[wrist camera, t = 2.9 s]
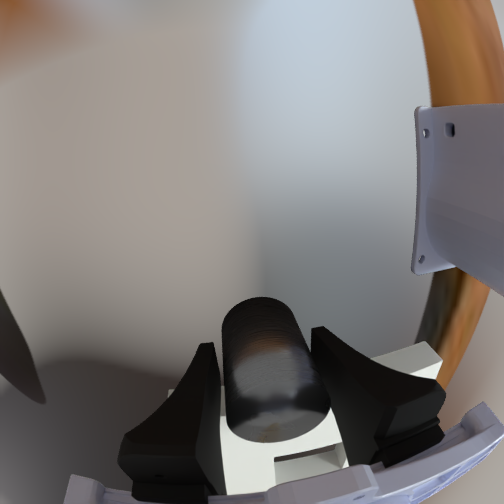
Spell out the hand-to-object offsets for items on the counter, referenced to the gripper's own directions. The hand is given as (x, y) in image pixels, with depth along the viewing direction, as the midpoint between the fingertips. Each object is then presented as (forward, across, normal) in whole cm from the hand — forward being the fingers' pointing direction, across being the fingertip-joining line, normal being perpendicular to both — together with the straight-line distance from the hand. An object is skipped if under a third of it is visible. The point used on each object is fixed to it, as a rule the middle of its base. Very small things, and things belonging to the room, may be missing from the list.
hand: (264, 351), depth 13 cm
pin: (+2, 0, 0) cm, 2 cm away
